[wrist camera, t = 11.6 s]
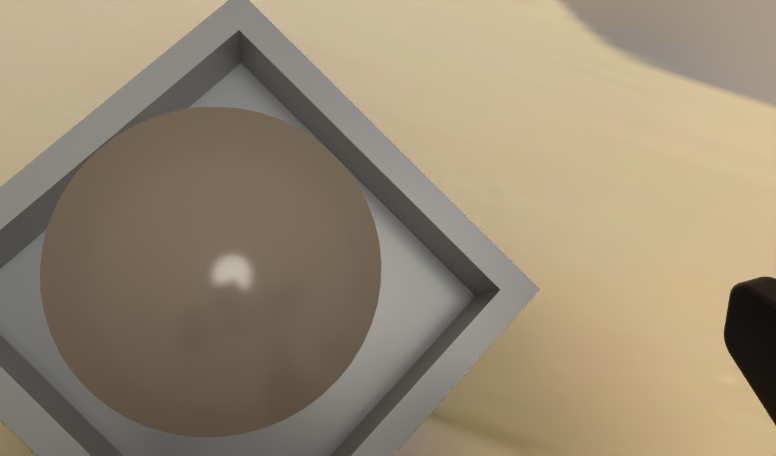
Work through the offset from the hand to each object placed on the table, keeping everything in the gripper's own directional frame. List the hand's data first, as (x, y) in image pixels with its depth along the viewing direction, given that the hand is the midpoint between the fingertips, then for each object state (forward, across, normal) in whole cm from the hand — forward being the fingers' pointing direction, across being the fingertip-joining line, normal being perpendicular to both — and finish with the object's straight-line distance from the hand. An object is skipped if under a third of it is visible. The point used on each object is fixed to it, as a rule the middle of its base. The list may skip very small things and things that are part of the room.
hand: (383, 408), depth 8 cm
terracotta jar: (+10, +3, +6) cm, 12 cm away
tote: (+11, +3, +6) cm, 13 cm away
